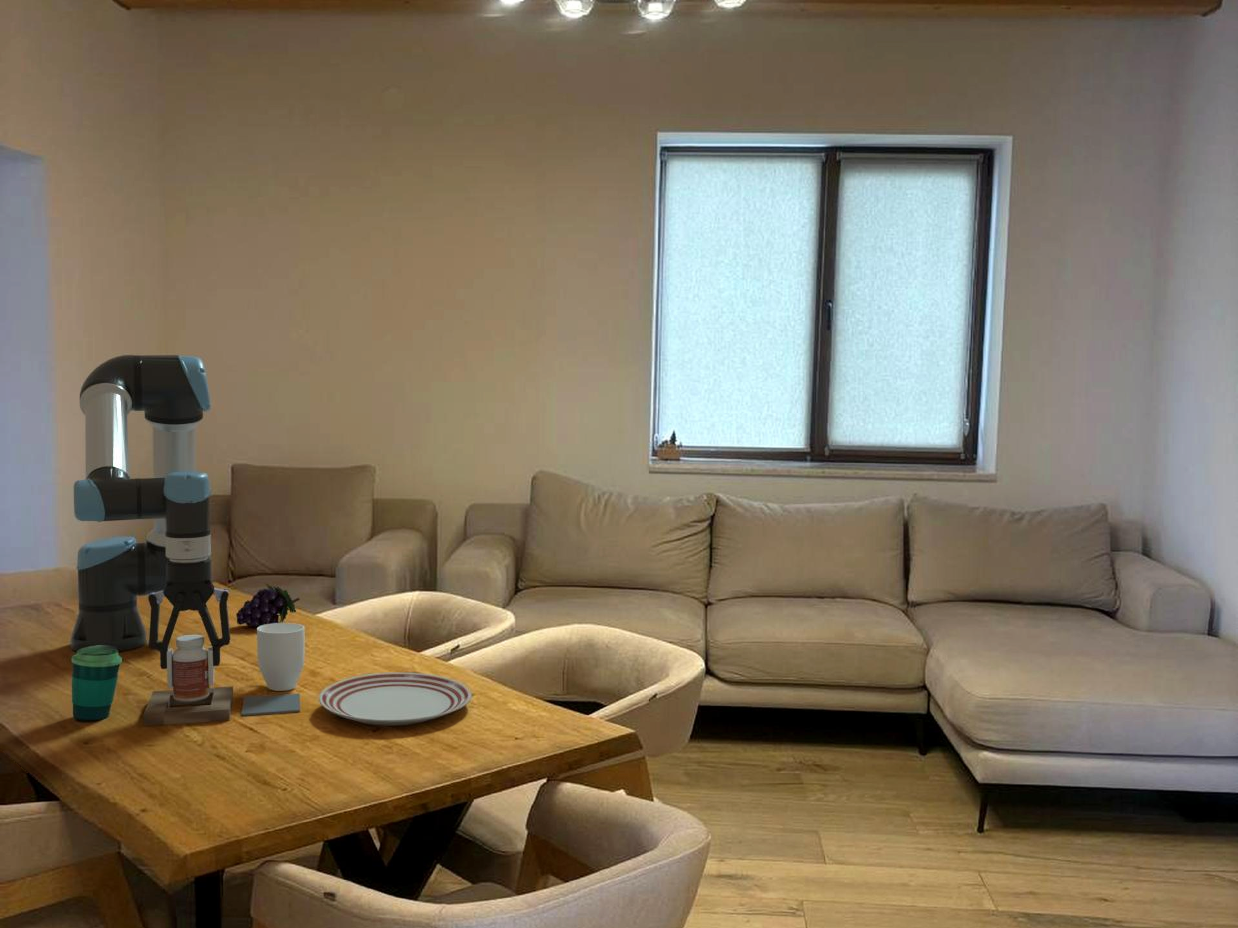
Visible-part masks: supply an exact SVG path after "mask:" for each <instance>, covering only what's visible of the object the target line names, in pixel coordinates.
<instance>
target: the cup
mask: <svg viewBox="0 0 1238 928" xmlns="http://www.w3.org/2000/svg"><path fill="white" fill-rule="evenodd" d="M122 661H123V658H122V656H120V655H119V652H118V651H117V648H116V647H115V646H110V645H97V646H90V647H85V648H82V649H79V650H78V651H76V654H74V655H72V657H71V661H70V662H72V674H71V703H72V717H73V718H74V720H75V721H76V722H79V723H93V722H99V721H102V720H105V719H107V718H108V717H109V716H110V712H111V707H112V704H113V702H114V697H115V693H116V687H117V683H118V678H119V675H118V674H119V671H120V665H121V664H122Z"/></svg>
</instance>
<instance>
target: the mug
mask: <svg viewBox="0 0 1238 928" xmlns="http://www.w3.org/2000/svg"><path fill="white" fill-rule="evenodd" d="M305 628H306V627H305V625H303V624H299V623H293V622H283V623H282V622H278V623H273V624H268V623H267V624H266V625H262V626H260V625H258V627H257V628H256V637H257V638H256V641H257V642H256V645H257V647H256V648H257V649H256V652H257V654H256V655H257V663H258V664H257V665H258V669H259V671H260V673H261V675H262V678H263V680H264V682H265V684H266V686H267V689H268V690H271V691H274V692H275V691H277V692H279V691H280V692H283V691H285V692H287V691H291V690H293V689H295V688H296V687H297V684H298V682H299V679H300V676H301V674H302V671H303V669H304V665H305V651H306V647H305V646H306V644H305V643H306V642H305V640H306V639H305V635H306V633H305V630H306V629H305Z"/></svg>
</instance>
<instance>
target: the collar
mask: <svg viewBox="0 0 1238 928" xmlns="http://www.w3.org/2000/svg"><path fill="white" fill-rule="evenodd" d="M233 700H234V685H232V686H216V687H209V696H208V697H207V698H205V699H202V700H199V701H193V702H181V701H177V700H175V699H174V697H173V689H169V690H168V689H167V690H152V693H151V696H150V699H149V700H148V703H147V706H146V707H145V710H144V713H143V715H142V717H143V718H142V719H143V722H142V724H143V725H142V726H143V727H156V726H157V727H158V726H171V725H182V724H185V725H186V724H197V723H198V724H199V723H212V722H213V723H214V722H226V721H227V722H228V721H230V717H231V712H232V707H233ZM207 704H208V705H207ZM209 704H210V705H209ZM191 705H192V706H191ZM195 705H196V706H195ZM174 706H175V707H174ZM176 706H179V707H176Z"/></svg>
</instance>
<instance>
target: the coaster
mask: <svg viewBox="0 0 1238 928" xmlns="http://www.w3.org/2000/svg"><path fill="white" fill-rule="evenodd" d="M300 696H301V695H300V693H285V694H271V695H270V694H269V695H255V696H244V697H243V702H242V707H241V717H247V716H260V715H261V716H263V715H264V716H265V715H274V714H276V715H279V714H291V713H300V712H301V709H300V708H301V706H300V705H301V701H300V699H301V698H300Z"/></svg>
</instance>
